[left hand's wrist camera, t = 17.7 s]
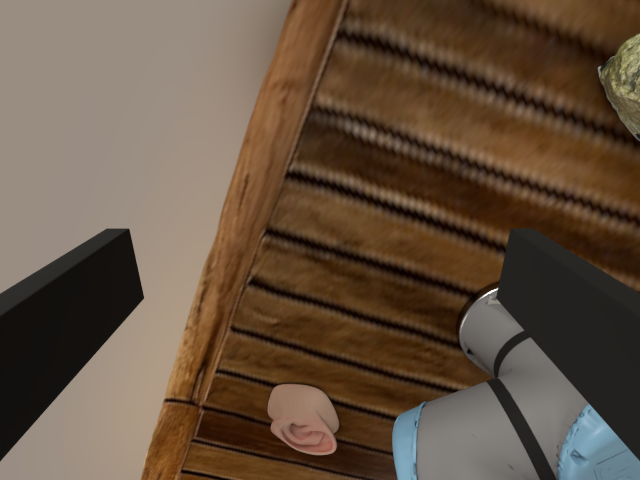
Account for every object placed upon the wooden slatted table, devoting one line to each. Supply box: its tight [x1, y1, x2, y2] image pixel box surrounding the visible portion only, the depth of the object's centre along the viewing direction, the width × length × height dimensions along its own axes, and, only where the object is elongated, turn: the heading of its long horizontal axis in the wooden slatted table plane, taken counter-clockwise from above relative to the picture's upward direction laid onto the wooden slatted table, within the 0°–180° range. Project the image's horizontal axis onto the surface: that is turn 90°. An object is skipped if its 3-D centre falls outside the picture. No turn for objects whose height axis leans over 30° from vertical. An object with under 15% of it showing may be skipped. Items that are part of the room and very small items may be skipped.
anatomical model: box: [268, 384, 339, 455], centre depth 58 cm, size 13×4×12 cm
